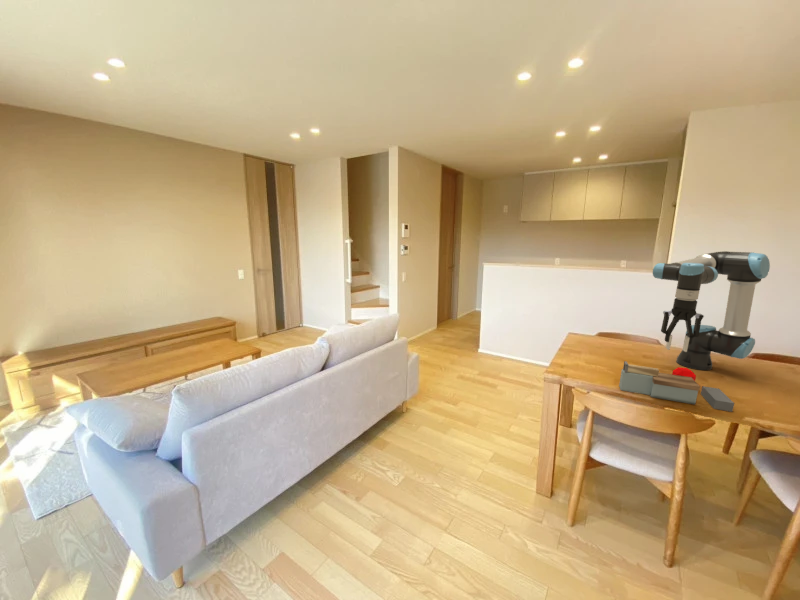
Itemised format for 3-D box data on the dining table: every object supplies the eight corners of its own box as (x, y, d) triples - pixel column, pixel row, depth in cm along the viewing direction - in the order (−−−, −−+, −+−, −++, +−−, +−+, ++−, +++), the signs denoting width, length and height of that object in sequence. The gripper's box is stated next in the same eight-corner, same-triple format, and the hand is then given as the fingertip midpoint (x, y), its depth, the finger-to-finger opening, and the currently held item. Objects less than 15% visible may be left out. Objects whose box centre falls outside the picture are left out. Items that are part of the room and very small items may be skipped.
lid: (648, 375, 157) (648, 371, 156) (690, 381, 150) (691, 377, 150) (654, 383, 148) (654, 379, 148) (699, 391, 142) (700, 386, 141)
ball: (686, 380, 167) (689, 366, 165) (696, 388, 159) (699, 373, 157) (668, 379, 168) (671, 365, 167) (677, 386, 161) (680, 371, 159)
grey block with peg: (619, 386, 160) (623, 361, 157) (647, 391, 156) (652, 365, 153) (620, 390, 157) (624, 364, 154) (649, 395, 152) (654, 368, 149)
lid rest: (700, 394, 153) (702, 386, 152) (717, 396, 151) (719, 388, 150) (713, 408, 141) (715, 400, 140) (732, 411, 138) (734, 403, 137)
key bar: (624, 369, 157) (625, 364, 157) (656, 374, 152) (657, 368, 152) (625, 371, 155) (626, 365, 154) (657, 376, 150) (659, 370, 149)
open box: (646, 389, 158) (648, 375, 156) (688, 396, 151) (691, 382, 150) (650, 397, 150) (653, 383, 149) (695, 404, 144) (698, 390, 142)
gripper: (662, 298, 142) (653, 349, 147) (717, 302, 134) (706, 355, 139) (657, 295, 148) (648, 344, 153) (709, 299, 141) (698, 350, 146)
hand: (676, 349), depth 146 cm, fingers open, 5 cm apart
